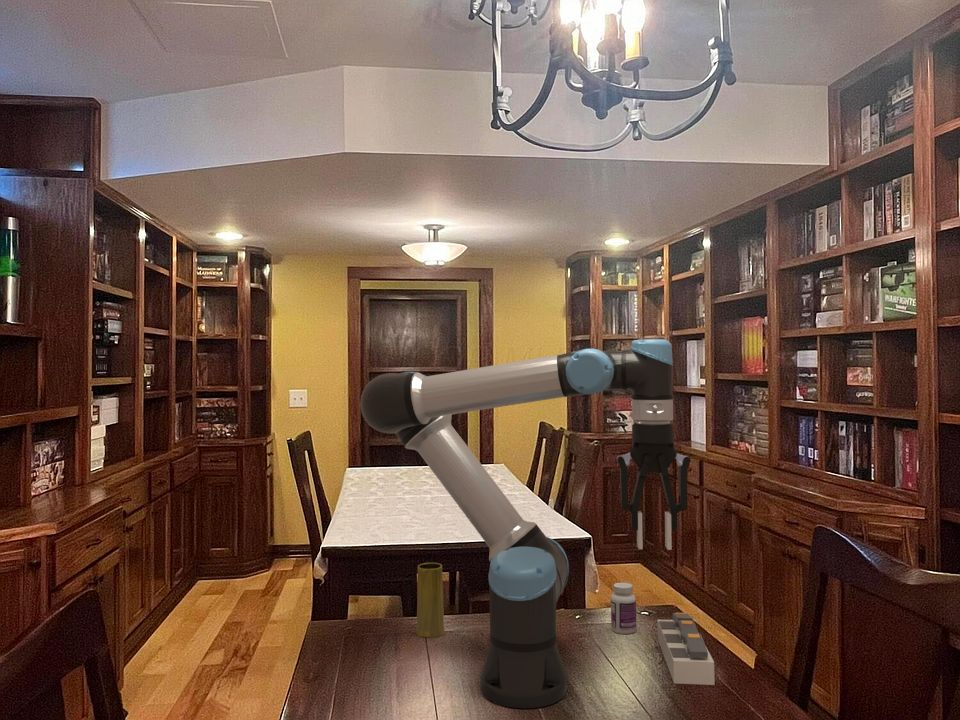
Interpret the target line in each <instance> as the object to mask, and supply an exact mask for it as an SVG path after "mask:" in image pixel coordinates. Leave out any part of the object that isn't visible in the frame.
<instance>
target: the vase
mask: <svg viewBox="0 0 960 720" xmlns="http://www.w3.org/2000/svg"><path fill="white" fill-rule="evenodd" d="M443 587H444V586H443V565H442V564H441V563H438V562H424V563H420V564H418V565H417V597H416V598H417V599H416V600H417V603H416V604H417V605H416V628H415V634H416V635H417V636H419V637H421V638H425V639H426V638H428V639H432V638H434V639H435V638H439V637H441V636H443V635H444V634H445V633H446V630H445V625H444V624H445V622H444V621H445V618H444V617H445V615H444V614H445V613H444V590H443V589H444V588H443Z"/></svg>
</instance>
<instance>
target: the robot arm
mask: <svg viewBox="0 0 960 720" xmlns="http://www.w3.org/2000/svg"><path fill="white" fill-rule="evenodd" d="M603 391H631V419H632V420H633V421H635V422H634V423H632V425H631V434H632V435H631V436H632V437H631V443H632V444H631V448H630V450H629V452H628V453H627V452H626V453H625V454H622V455H621V454H619V455H617V456H616V462H617V464H618V467H619V489H620V490H619V491H620V507H621V508H622V510H625V511H628V512H630V527H631V530H632V531H636V547H637V549H638V550H643V546H644V544H643V543H644V542H643V512H642V511H641V510H640V509H639V508H640V504H641V501H642V500H641V499H642V496H643V491H644V487H645V483H646V478H647V476H648V474H651V473H657V474H659V476H660V479H661V483H662V487H663V490H664V491H663V492H664V494H665V499H666V502H667V506H668V507H667V508H668V511H666V510H665V511H664V537H665V538H664V545H665V548H666V550H667V551H669V550H670V551H671V550H672V548H673V547H672V540H673V539H672V531H674V532H675V531H677V529H678V513H680V512H682V511H687V510H688V469H689V466H690V463H691V461H692V460H691V458H690V457H689V456H688V455H683V454H680V453H678V452H677V450H676V448H675V444H674V443H675V441H674V439H675V438H674V436H675V434H674V431H675V430H674V424H673V423H671V421H673V420H674V361H673V346H672V343H671V342H670V341H669V340H667V339H662V338H661V339H659V338H658V339H657V338H654V339H653V338H652V339H634V340H632V341H631V345H630V348H629V349H627V350H626V349H625V350H600V349H596V348H583V349H580V350H578V351H577V350H576V351H572V352H567V353H563V354H562V353H561V354H556V355H549V356H542V357H537V358H531V359H529V358H528V359H523V360H518V361H513V362H507V363H499V364H494V365H488V366H482V367H476V368H471V369H470V368H469V369H463V370H458V371H451V372H446V373H440V374H433V375H428V376H427V375H425V374H422V373H420V372H416V371H415V372H414V371H405V372H404V371H403V372H398V373H397V372H389V373H383V374H380V375H377V376H376V377H374V378H372V379H371V380H370V381H369V382H367V384H366V385H365V387H364V388H363V390H362V393H361V395H360V401H359V402H360V403H359V404H360V405H359V406H360V411H361V414H362V418H363V419H364V420H365V422H366V423H367V424H368V426H370V427H371V428H373V430H375V431H377V432H381V433H383V434H394V435H396V438H398V440H399V441H400V442H401V443H402V446H403V447H404V448H405V449H406V450H414V451H416V452H418V454H419V455H420V456H421V458H422V459H423V460H424V462H425V463H426V464H427V466H428V468H429V469H430V470H431V471H432V472H433V474H434V476H435V477H436V478H437V479H438V480H439V482H440V483H441V484H442V486H443V487H444V488H445V490H446V491H447V493H448V494H449V496H450V497H451V498H452V500H454V502H455V504H457V506H458V507H459V509H460V510H461V511H462V513H463V514H464V516H466V517H465V518H467V520H469V522H470V523H471V524H472V526H473V527H474V529H475V530H476V531H477V532H478V534H479V535H480V537H481V538H482V540H483V541H484V542H485V543H486V545H487V546H488V548H489V553H488V554H489V556H488V560H489V562H490V564H489V571H488V574H487V575H488V585H489V587H488V588H489V590H488V591H489V647H488V650H487V653H486V656H485V659H484V663H483V665H482V669H481V672H480V692H481V694H482V695H483V697H485V698H486V699H487V700H488V701H490V702H492V703H494V704H497V705H500V706H502V707H503V706H504V707H508V708H515V709H536V708H544V707H547V706H551V705H553V704H555V703H558V702H560V701H561V700H562V699H563V698H564V697H565V696H566V695H567V691H568V679H567V677H568V676H567V673H566V670H565V667H564V663H563V660H562V659H561V655H560V652H559V649H558V645H557V603H558V601H559V598H560V596H561V594H562V592H563V590H564V589H565V588H566V586H567V583H568V580H569V574H570V573H569V570H570V567H569V566H570V565H569V559H568V557H567V554H566V552H565V550H564V548H563V547H562V546H561V544H559V543H558V542H557V541H556V540H554V539H552V538H550V537H548V536H546V534H544V532H543V531H542V530H541V528H540V527H539V526H538V524H537V523H536V522H534V521H527V520H524V519H523V517H522V516H521V515H520V513H519V511H517V510H516V508H515V507H514V505H513V504H512V503H511V501H510V500H509V499H508V497H507V496H506V494H505V493H504V492H503V491H502V490H501V488H500V487H499V485H497V483H496V482H495V481H494V479H493V478H492V476H491V475H490V474H489V473H488V471H487V470H486V469H485V467H484V465H482V463H481V462H480V460H478V458H477V457H476V455H475V454H474V453H473V451H472V450H471V448H469V446H468V445H467V443H466V442H465V441H464V439H462V437H461V436H460V435H459V433H458V432H457V431H456V430H455V429H456V428H454V427H453V425H452V415H457V414H463V413H470V412H476V411H483V410H489V409H496V408H503V407H508V406H515V405H520V404H527V403H528V404H529V403H533V402H540V401H542V402H543V401H547V400H553V399H560V398H561V399H562V398H566V397H575V396H582V395H594V394H599V393H602V392H603ZM631 460H633V461H634V463H635V464H636V466H637V468H638V470H637V476H636V480H635V483H634V484H635V485H634V490H633V492H632V493H633V494H632V498H631V502H629V477H628V476H629V475H628V474H629V473H628V467H629V466H630V461H631ZM674 460H676V462H675V463H676V465H677V466H678V478H677V479H678V481H677V482H678V487H677V488H678V503H676V499H675V495H674V491H673V487H672V483H671V480H670V474H669V471H668V470H669V467H670V466H671V464H672V463H673V462H674ZM639 510H640V511H639Z"/></svg>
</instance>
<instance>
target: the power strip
mask: <svg viewBox="0 0 960 720" xmlns="http://www.w3.org/2000/svg"><path fill="white" fill-rule="evenodd" d="M656 621H657V641H658V644H659V646H660V649H661V652H662V655H663V657H664V660H665V663H666V665H667V668H668V670H669V674H670V676H671V679H672V682H673V684H674V685H675V684H677V685H678V684H679V685H681V684H682V685H704V686H705V685H706V686H707V685H708V686H715V661H714V659H713V657H712V655H711V653H710V652H709V650H708V648H707V647H706V649H707V651H708V658H690V655H689V652H688V649H687V646H686V643H683V640H682V636H681V633H680V630H679V627H678V624H677V623H676V622H675V621H674V620H673V619H656ZM698 633H699V631H698ZM699 634H700V633H699Z"/></svg>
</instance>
